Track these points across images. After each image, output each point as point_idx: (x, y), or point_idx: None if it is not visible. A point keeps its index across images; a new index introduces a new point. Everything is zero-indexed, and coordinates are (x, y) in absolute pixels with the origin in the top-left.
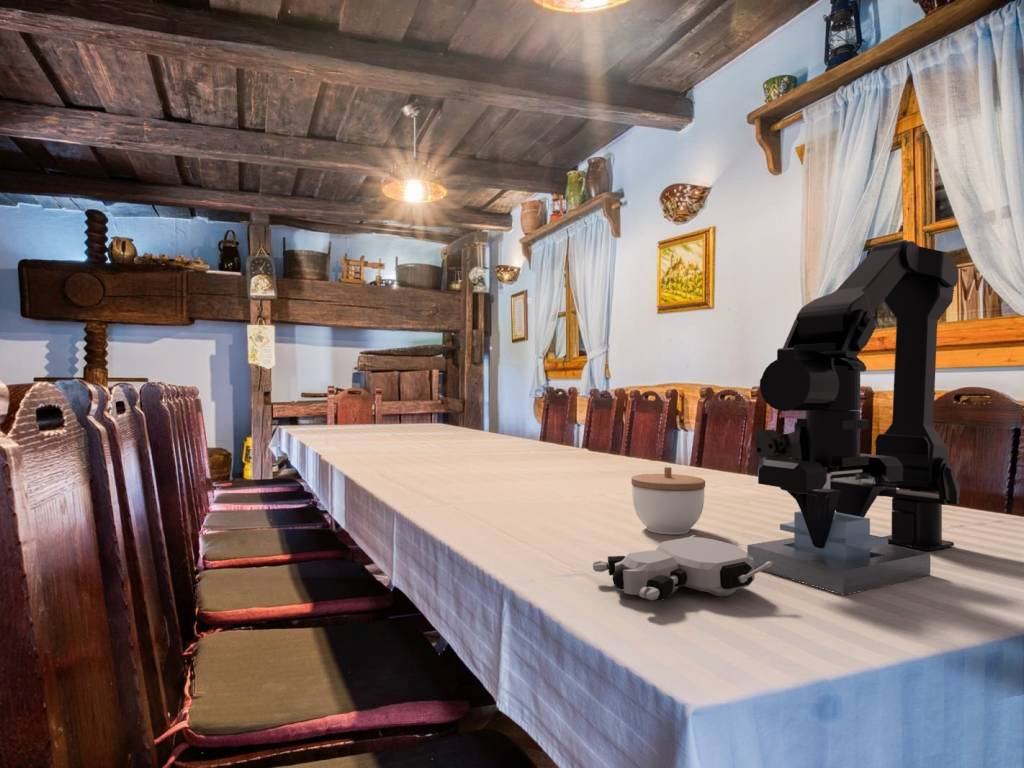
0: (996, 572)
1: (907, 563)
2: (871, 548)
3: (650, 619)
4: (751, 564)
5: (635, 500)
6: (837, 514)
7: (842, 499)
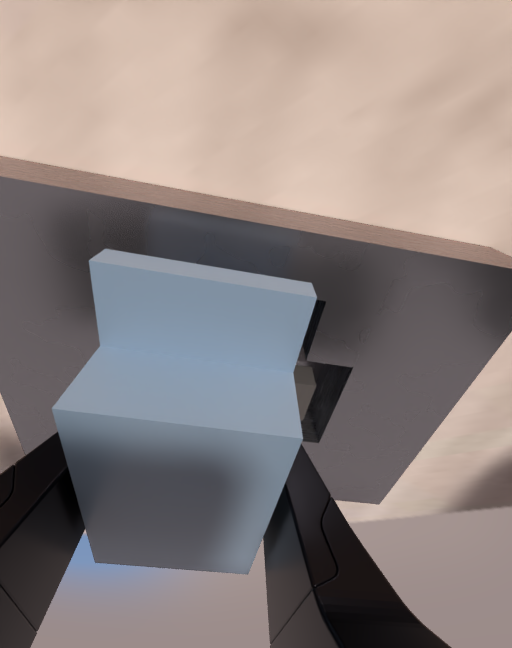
0: (471, 497)
1: None
2: (322, 438)
3: None
4: None
5: None
6: (222, 518)
7: (297, 606)
